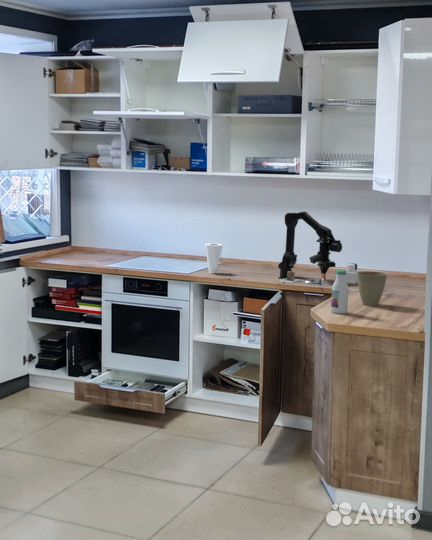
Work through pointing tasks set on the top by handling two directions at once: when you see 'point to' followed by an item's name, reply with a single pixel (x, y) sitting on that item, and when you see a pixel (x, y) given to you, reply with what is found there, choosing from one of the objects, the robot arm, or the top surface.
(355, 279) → the medicine bottle
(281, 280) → the tray
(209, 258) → the cup
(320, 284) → the crank plate
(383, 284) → the plant pot
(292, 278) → the block
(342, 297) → the milk bottle
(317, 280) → the crank
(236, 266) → the top surface
